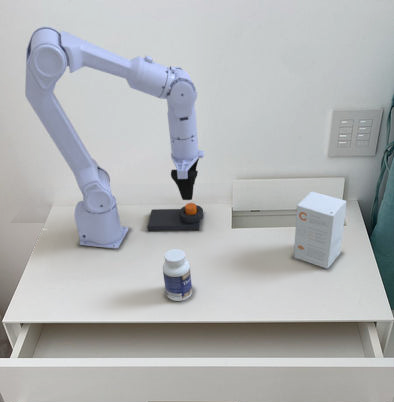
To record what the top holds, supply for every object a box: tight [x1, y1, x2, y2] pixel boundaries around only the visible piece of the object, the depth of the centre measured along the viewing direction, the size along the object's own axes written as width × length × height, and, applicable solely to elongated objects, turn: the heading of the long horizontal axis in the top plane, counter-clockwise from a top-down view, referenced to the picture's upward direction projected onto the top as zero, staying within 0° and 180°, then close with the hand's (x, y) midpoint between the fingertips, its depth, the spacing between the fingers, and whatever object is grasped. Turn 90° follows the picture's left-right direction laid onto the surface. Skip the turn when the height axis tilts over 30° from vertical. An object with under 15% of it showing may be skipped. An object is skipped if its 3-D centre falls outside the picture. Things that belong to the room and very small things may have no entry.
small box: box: [293, 190, 348, 270], centre depth 118 cm, size 8×6×13 cm
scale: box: [147, 204, 204, 232], centre depth 134 cm, size 13×7×3 cm, turn 85°
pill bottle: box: [162, 248, 193, 302], centre depth 114 cm, size 5×5×10 cm
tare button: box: [184, 202, 197, 215], centre depth 132 cm, size 3×3×2 cm
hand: (188, 191), depth 128 cm, fingers open, 6 cm apart
